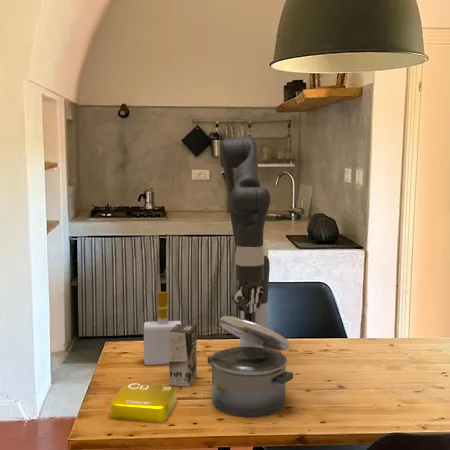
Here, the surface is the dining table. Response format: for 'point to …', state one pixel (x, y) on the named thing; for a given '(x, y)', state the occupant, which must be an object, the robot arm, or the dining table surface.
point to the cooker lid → (254, 333)
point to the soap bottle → (158, 335)
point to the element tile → (143, 402)
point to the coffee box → (182, 355)
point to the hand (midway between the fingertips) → (249, 325)
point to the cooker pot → (249, 381)
